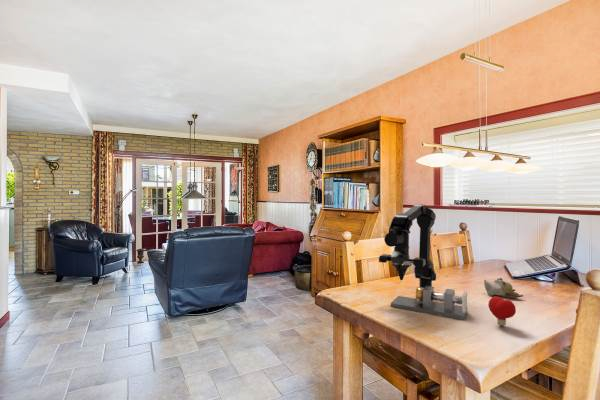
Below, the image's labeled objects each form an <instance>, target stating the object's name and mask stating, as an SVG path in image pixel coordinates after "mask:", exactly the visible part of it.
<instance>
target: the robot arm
mask: <svg viewBox="0 0 600 400" xmlns="http://www.w3.org/2000/svg"><path fill="white" fill-rule="evenodd" d="M436 218H437V216H436V212H435V211H434V210H432V209H431V208H429V207H427V206H426V205H425V204H421V203H420V204H418V203H415V204H414V205H413V206H412V207H411V208H409V209H407V211H405V212H403V213H398V214H395V215H394V216H393V218H392V219H391V222H390V225H389V228H388V233H386V234H385V235H384V237H383V238H384V243H385V245H387V246H388V247H389V248H391V247H393V249H394V250H393V251H392V254H386V253H383V254H381V255H379V257H378V262H379V263H382V264H383V263H385V264H386V263H387V262H391V265H392V266H393V267H394V269H396V271H397V274H398V276H399V280H400V281H403V280H404V278H405V275H406V272H407V271H408V269H409V268H410V267H411V266H412V265H413V266H414V267H413V268H414V269H413V270H414V272H413V273H414V278H415V279H419V280H418V281H419V283H418V284H419V286H418V287H421V288H425V287H426V286H431V287H433V284H432V283H433V281H437V273H436V271H435V270H434V264H433V262H432V260H431V257H430V256H431V229H433V226H434V225H435V220H436ZM414 220H416V224H417V225H418V227H419V248H418V250H419V253H418V254H419V255H418V257H416V256H415V258H410V254H409V253H410V251H409V250H410V234H411V231H410V230H411V227H412V226H413V221H414Z"/></svg>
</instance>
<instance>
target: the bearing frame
mask: <svg viewBox="0 0 600 400" xmlns="http://www.w3.org/2000/svg"><path fill="white" fill-rule="evenodd" d="M432 292H433V293H435V287H434V286H432V287H431V286H426V287H425V288H424V289H423V301H417V300H416V297H415V298H414V297H408V296H402V295H398V296H397V297H396V298H394V299H393V301H391V302H390V307H392V308H396V309H401V310H402V309H403V310H407V311H411V312H412V311H413V312H417V313H423V314H428V315H433V316H434V315H436V316H441V317H444V318H449V319H456V320H460V321H461V320H462V321H465V319H466V316H467V313H468V303H467V302H468V291H466V290H464V291H463V293H462V295H461V297H462V305H459V304H455V303H453V296H456V295H455V289H451V288H446V289H445V291H444V293H443V294H444V302H441V301H435V300H431V293H432Z"/></svg>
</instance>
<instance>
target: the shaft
mask: <svg viewBox="0 0 600 400" xmlns="http://www.w3.org/2000/svg"><path fill="white" fill-rule="evenodd" d="M423 289H424V288H421V287H419V286H416V289H415V299H416V300H417V301H423ZM431 300H434V301H435V302H441V303H444V293H439V292H434V293H433V292H432V293H431ZM453 303H455V305H460V306H462V296H459V295H455V296H453Z"/></svg>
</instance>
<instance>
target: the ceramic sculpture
mask: <svg viewBox="0 0 600 400" xmlns="http://www.w3.org/2000/svg"><path fill="white" fill-rule="evenodd" d="M483 283H484V284H483V285H484V288H485V292H486V293H487V295H488V296H492V297H493V296H494V295H496V296H498V297H504V298H507V297H508V298H509V297H510V298H513V299H516V298H517V299H518V298H521V297H524V295H523V294H519V293H518V292H517V291H516V289H515V288H513V285H512V284H511V283H510V282H509V281H507V280H503V278H496V279H495V280H493V281H490V280H487V279H484V280H483Z"/></svg>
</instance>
